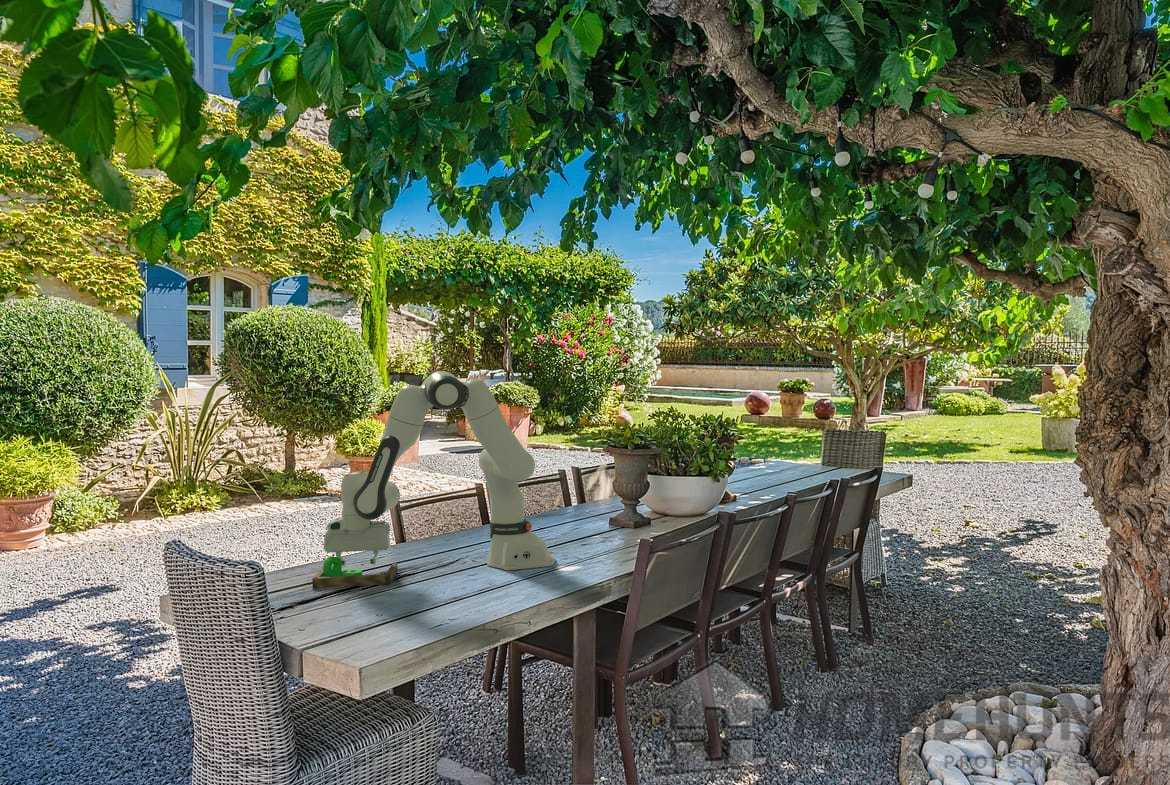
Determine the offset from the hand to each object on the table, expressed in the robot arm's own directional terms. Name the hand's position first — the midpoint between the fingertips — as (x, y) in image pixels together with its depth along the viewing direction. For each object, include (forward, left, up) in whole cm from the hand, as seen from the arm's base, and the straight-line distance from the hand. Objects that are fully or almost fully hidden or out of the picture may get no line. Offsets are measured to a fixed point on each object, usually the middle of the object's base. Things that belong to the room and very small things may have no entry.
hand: (358, 564), depth 242 cm
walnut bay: (-1, +7, -3) cm, 7 cm away
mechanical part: (+3, +6, -4) cm, 7 cm away
